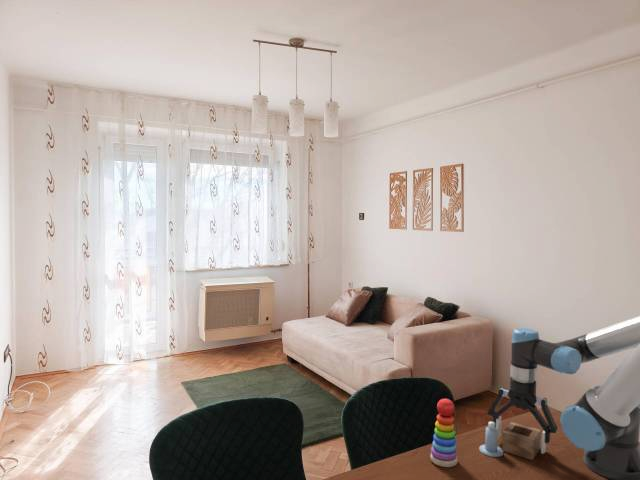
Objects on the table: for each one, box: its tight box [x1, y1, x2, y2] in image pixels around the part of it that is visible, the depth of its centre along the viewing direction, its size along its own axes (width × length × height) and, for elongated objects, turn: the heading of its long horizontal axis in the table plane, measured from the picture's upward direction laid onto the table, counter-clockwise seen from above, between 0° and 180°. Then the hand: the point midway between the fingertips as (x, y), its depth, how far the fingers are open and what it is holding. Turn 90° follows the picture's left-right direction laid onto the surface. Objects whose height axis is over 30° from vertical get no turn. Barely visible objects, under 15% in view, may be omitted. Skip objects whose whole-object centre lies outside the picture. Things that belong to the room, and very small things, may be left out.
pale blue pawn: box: [478, 420, 504, 458], centre depth 144 cm, size 7×7×9 cm
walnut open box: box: [501, 421, 542, 461], centre depth 145 cm, size 9×9×6 cm
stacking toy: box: [429, 398, 459, 468], centre depth 137 cm, size 8×8×19 cm
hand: (520, 444), depth 145 cm, fingers open, 13 cm apart
